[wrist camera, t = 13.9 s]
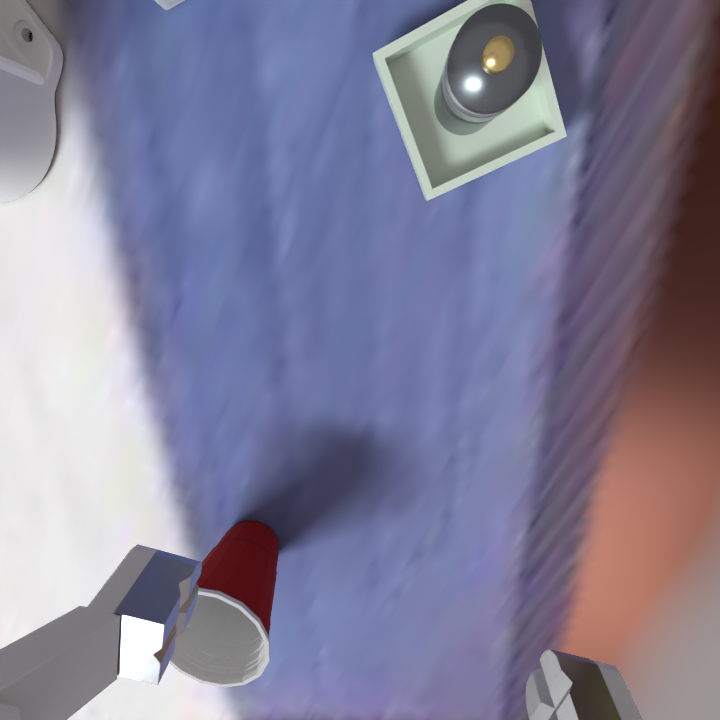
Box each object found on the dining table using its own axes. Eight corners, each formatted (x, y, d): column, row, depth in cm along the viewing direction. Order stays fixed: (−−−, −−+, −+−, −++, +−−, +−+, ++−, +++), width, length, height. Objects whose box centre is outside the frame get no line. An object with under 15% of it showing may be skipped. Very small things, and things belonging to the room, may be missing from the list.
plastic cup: (234, 481, 45) (180, 576, 34) (319, 535, 47) (294, 643, 35) (186, 543, 49) (123, 648, 37) (266, 591, 50) (229, 705, 39)
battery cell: (423, 82, 30) (436, 26, 20) (486, 49, 29) (532, -27, 19) (446, 147, 32) (469, 124, 22) (506, 117, 31) (560, 80, 21)
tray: (374, 63, 31) (372, 53, 28) (512, -13, 29) (522, -31, 26) (425, 200, 34) (427, 200, 31) (554, 140, 32) (566, 136, 29)
